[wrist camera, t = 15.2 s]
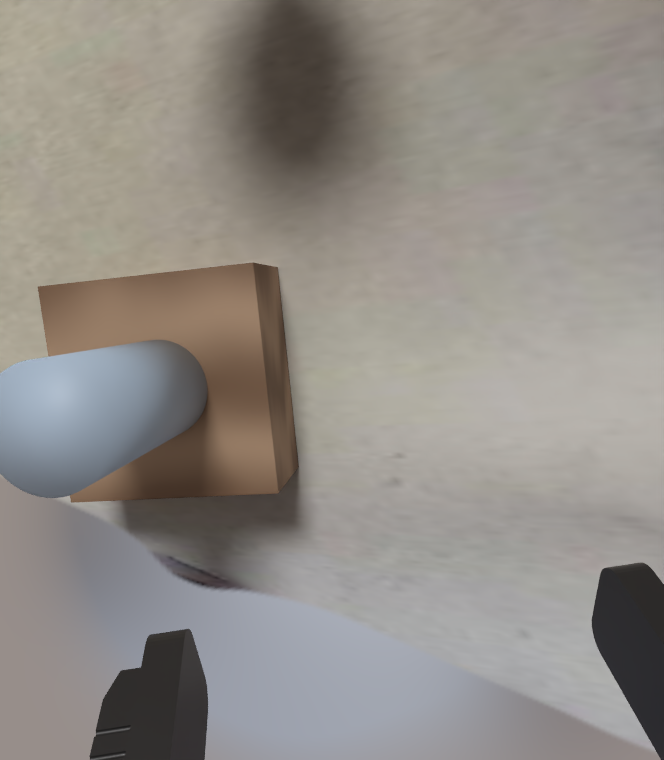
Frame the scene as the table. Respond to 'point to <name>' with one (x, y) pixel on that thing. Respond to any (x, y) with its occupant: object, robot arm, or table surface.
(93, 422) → the blue-grey cylinder
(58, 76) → the table surface
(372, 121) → the table surface
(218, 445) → the walnut base
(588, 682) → the table surface
